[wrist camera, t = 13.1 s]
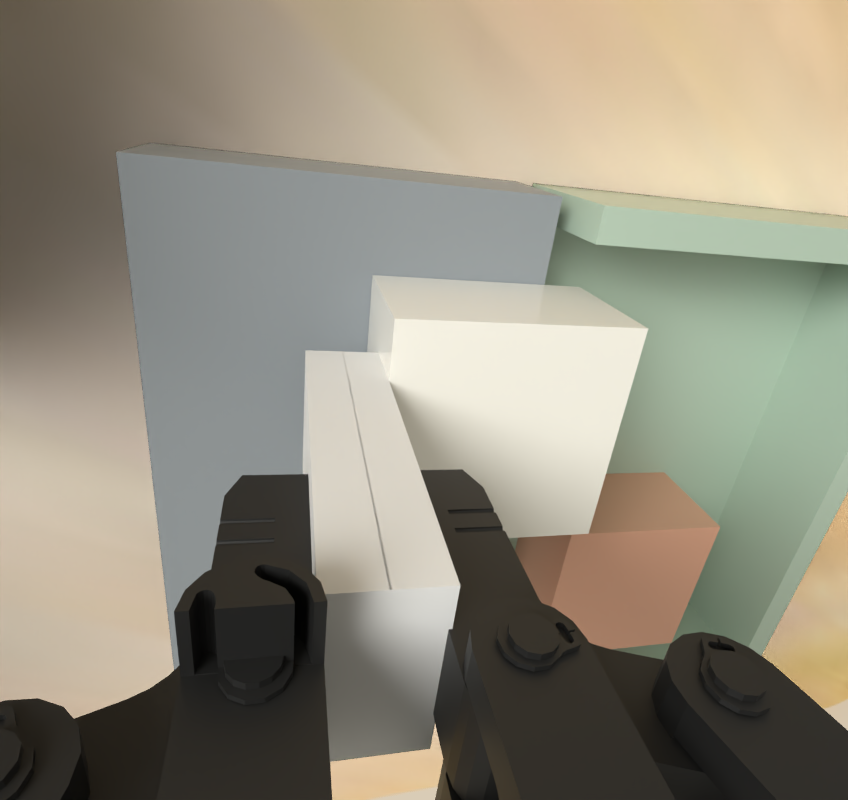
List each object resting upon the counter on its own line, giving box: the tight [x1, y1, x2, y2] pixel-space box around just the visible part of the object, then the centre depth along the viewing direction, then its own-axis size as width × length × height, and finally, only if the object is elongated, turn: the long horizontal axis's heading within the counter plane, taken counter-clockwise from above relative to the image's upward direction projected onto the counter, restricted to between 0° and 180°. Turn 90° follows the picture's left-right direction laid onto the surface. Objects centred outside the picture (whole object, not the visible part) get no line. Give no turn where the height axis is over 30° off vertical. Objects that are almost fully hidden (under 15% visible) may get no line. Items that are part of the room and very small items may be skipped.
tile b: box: [367, 275, 648, 538], centre depth 13 cm, size 5×5×3 cm
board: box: [116, 143, 563, 670], centre depth 16 cm, size 9×16×3 cm, turn 173°
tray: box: [509, 183, 848, 660], centre depth 18 cm, size 10×16×4 cm, turn 173°
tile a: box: [515, 472, 720, 649], centre depth 19 cm, size 5×5×3 cm
